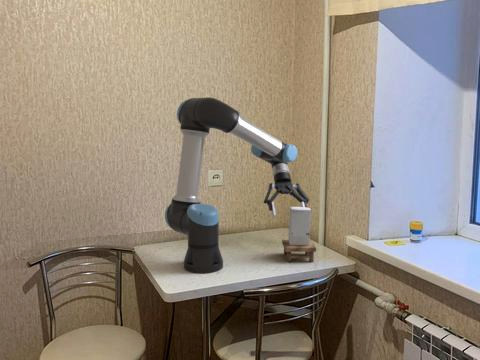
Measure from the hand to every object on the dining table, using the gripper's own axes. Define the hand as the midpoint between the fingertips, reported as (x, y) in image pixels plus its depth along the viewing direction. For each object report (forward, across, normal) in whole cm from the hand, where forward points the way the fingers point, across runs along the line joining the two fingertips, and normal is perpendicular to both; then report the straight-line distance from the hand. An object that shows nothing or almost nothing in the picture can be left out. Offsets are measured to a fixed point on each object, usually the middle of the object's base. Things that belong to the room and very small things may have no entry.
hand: (289, 216), depth 186 cm
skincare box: (+14, -1, +2) cm, 14 cm away
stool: (+18, -1, -2) cm, 19 cm away
